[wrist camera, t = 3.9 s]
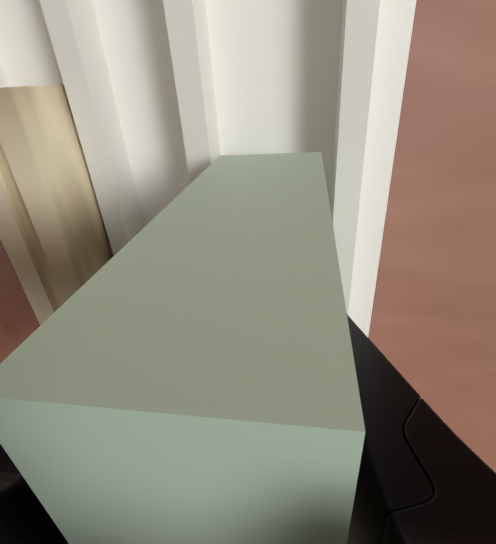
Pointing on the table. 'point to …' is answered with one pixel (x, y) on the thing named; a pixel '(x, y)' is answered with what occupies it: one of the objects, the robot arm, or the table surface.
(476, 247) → the table surface
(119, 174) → the slot rack
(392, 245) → the table surface
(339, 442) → the sage green block
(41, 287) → the offcut bundle
